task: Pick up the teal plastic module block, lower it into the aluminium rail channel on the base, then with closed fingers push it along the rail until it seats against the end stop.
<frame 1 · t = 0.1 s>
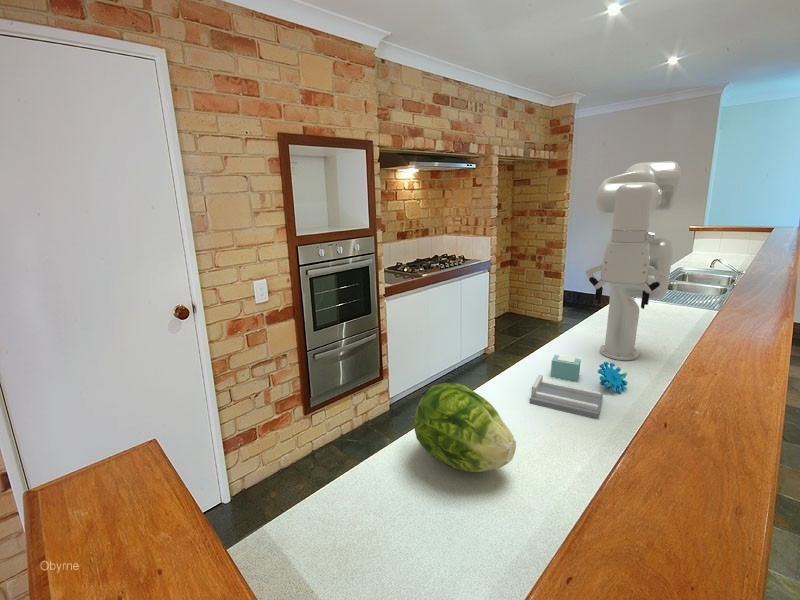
hand: (620, 305, 101), 31 cm above the countertop, tool pointing down, fingers open, 9 cm apart
module: (564, 376, 131), on the countertop
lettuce: (463, 462, 93), on the countertop
rail base: (566, 400, 116), on the countertop
gear: (612, 388, 123), on the countertop
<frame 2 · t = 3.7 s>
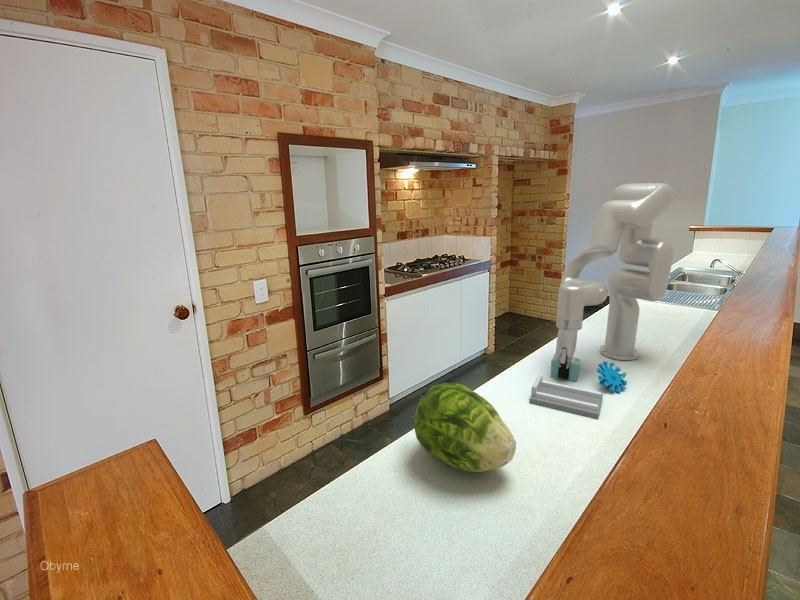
hand: (564, 374, 131), 1 cm above the countertop, tool pointing down, fingers closed on module, 5 cm apart
module: (564, 376, 131), on the countertop, touching gripper
everything else where it was.
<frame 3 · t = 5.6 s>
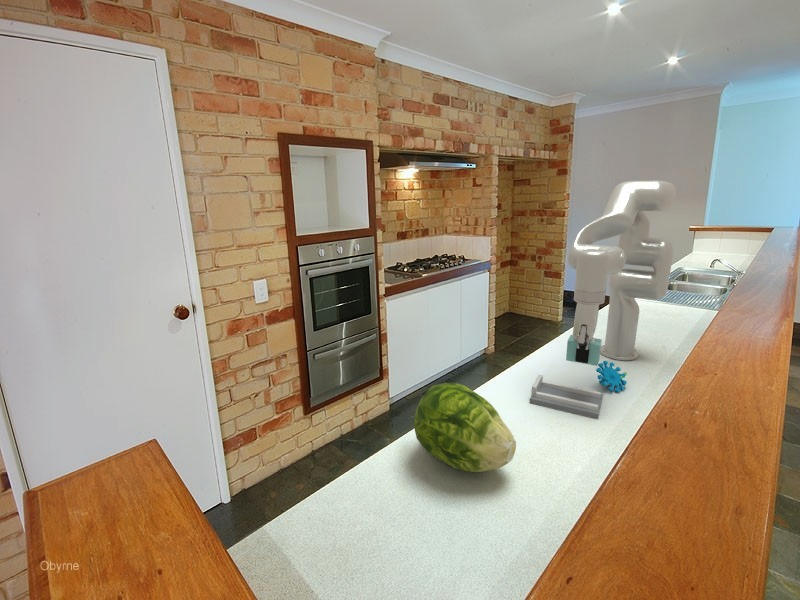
hand: (583, 357, 112), 14 cm above the countertop, tool pointing down, fingers closed on module, 5 cm apart
module: (582, 359, 112), point 13 cm above the countertop, touching gripper
everything else where it was.
when the fingers open (3 cm above the countertop, at t = 8.0 s): module drops 1 cm, resting on rail base.
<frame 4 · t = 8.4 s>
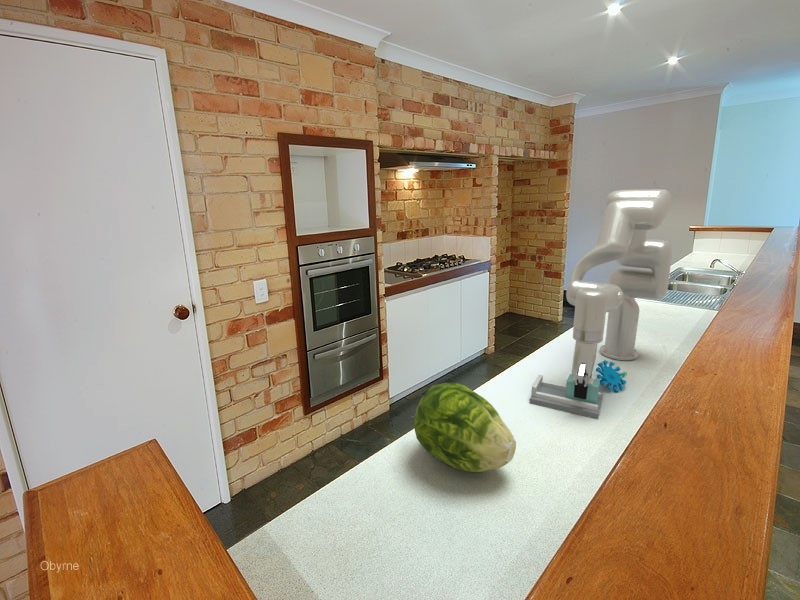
hand: (582, 390, 113), 4 cm above the countertop, tool pointing down, fingers open, 9 cm apart
module: (581, 399, 114), point 1 cm above the countertop, touching rail base
everything else where it was.
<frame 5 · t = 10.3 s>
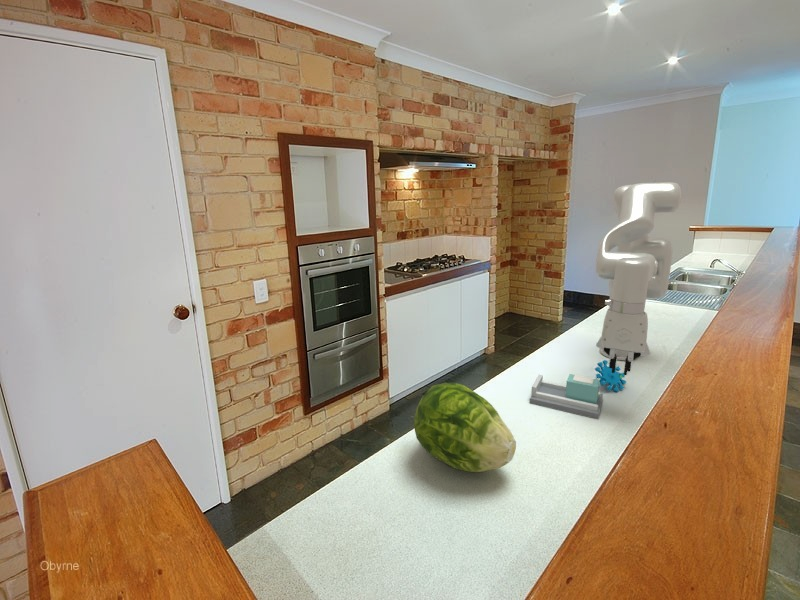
hand: (619, 371, 107), 12 cm above the countertop, tool pointing down, fingers closed
nothing on the countertop moved.
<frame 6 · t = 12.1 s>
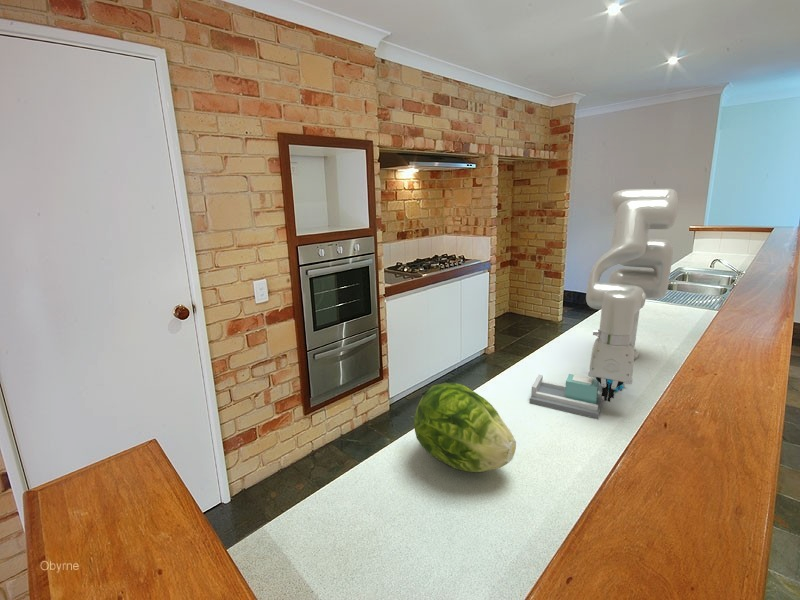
hand: (607, 399, 110), 3 cm above the countertop, tool pointing down, fingers closed
module: (580, 399, 114), point 1 cm above the countertop, touching gripper, rail base
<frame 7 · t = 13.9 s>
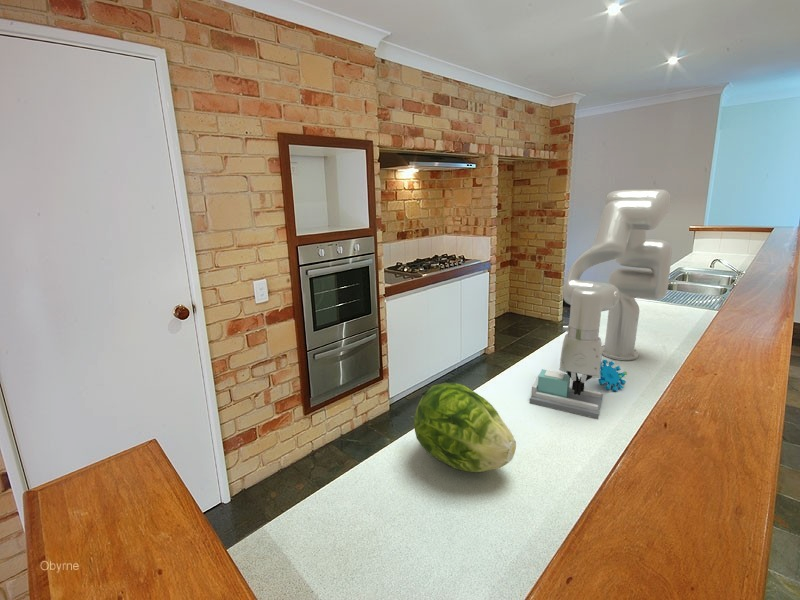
hand: (577, 392, 114), 4 cm above the countertop, tool pointing down, fingers closed
module: (553, 393, 118), point 1 cm above the countertop, touching gripper, rail base
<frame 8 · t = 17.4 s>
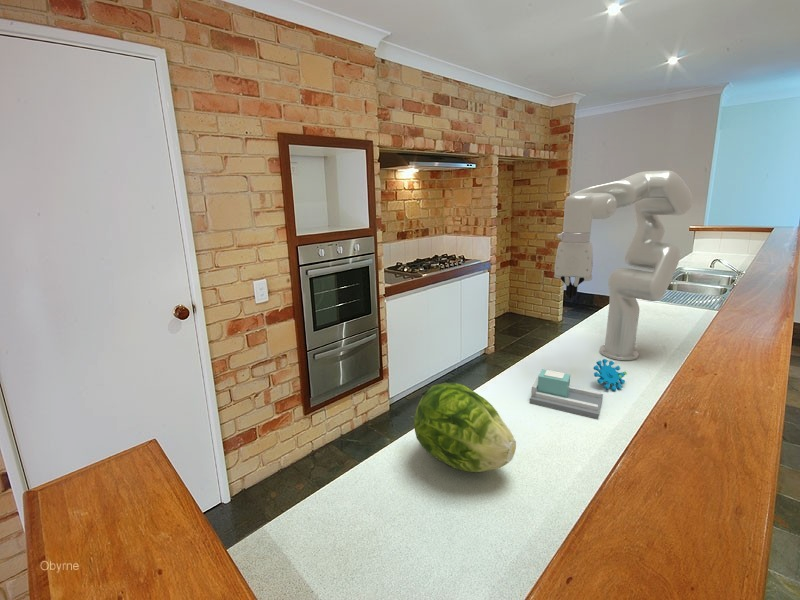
hand: (571, 297, 123), 27 cm above the countertop, tool pointing down, fingers closed
module: (553, 393, 118), point 1 cm above the countertop, touching rail base
at the end: module 0.4 cm from the target spot, point 1.5 cm above the countertop; module tilted 0°; the gripper is holding nothing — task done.
